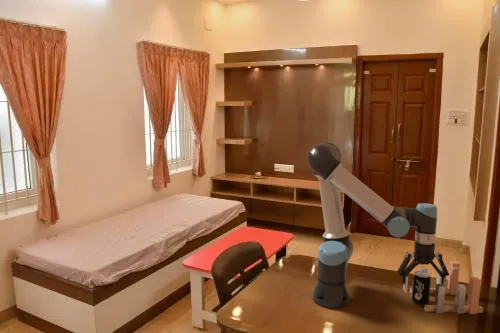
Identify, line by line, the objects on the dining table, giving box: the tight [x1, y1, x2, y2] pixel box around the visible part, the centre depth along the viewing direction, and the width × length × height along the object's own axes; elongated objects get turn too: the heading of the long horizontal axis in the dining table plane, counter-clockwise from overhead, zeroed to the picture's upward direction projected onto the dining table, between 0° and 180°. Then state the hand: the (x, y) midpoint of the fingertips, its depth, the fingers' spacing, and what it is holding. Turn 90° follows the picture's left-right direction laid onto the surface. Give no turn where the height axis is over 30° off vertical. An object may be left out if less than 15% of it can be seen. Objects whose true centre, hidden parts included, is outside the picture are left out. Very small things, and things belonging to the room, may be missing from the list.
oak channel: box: [409, 287, 484, 314], centre depth 161 cm, size 22×16×2 cm
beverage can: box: [411, 270, 432, 306], centre depth 161 cm, size 7×7×12 cm
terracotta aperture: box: [447, 260, 482, 315], centre depth 160 cm, size 3×19×14 cm, turn 179°
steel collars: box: [419, 266, 467, 314], centre depth 161 cm, size 10×18×11 cm, turn 179°
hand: (421, 291), depth 161 cm, fingers open, 13 cm apart
